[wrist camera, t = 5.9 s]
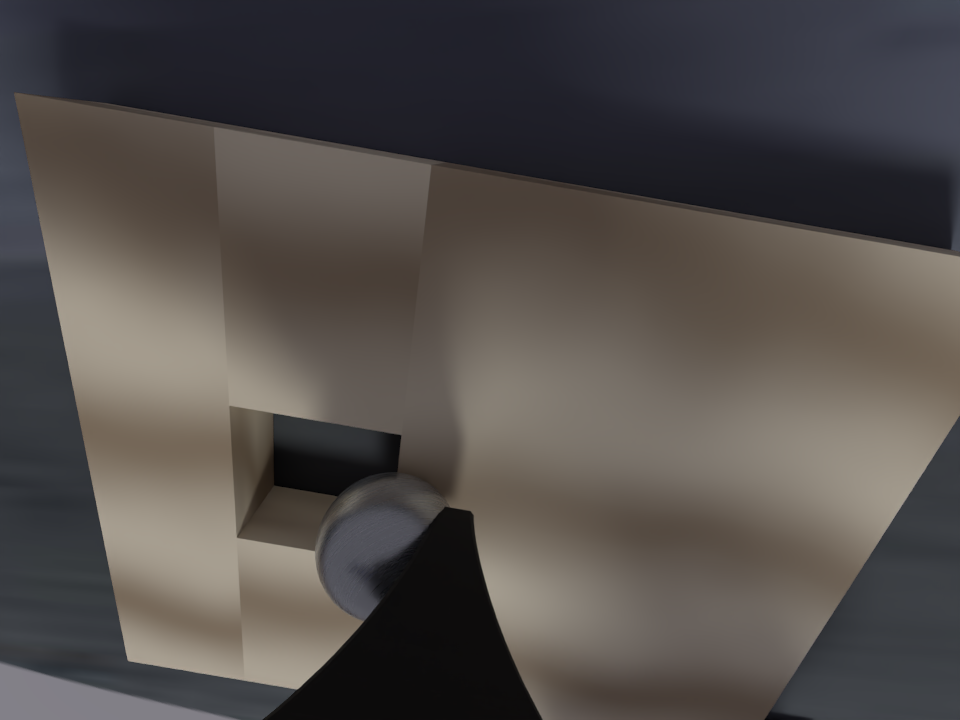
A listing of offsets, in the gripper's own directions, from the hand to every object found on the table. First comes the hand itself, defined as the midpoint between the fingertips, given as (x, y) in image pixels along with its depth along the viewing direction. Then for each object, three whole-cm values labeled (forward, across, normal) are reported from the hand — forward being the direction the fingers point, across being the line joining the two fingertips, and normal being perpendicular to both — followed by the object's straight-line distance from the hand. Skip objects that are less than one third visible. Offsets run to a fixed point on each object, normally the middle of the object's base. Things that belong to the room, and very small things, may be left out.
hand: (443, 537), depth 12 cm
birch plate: (+4, -1, 0) cm, 4 cm away
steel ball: (0, +1, 0) cm, 1 cm away
